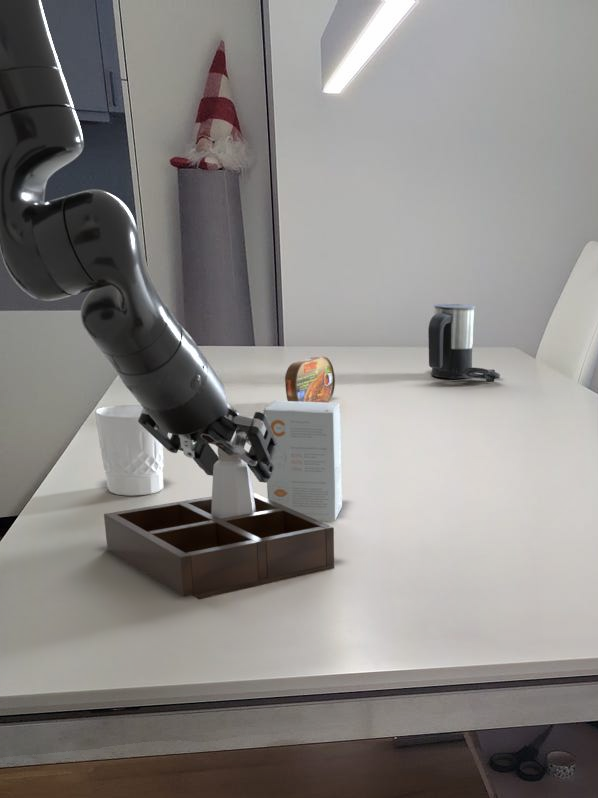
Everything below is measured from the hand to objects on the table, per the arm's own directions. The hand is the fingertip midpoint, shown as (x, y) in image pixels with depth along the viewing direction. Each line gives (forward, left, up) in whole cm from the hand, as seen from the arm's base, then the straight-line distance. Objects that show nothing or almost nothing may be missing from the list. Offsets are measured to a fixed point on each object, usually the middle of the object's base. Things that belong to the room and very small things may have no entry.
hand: (240, 471), depth 112 cm
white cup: (-1, +26, -8) cm, 27 cm away
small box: (+11, +5, -8) cm, 15 cm away
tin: (+49, +62, -8) cm, 80 cm away
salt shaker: (-2, -1, -7) cm, 8 cm away
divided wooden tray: (-6, -5, -8) cm, 11 cm away
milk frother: (+95, +72, -8) cm, 120 cm away
